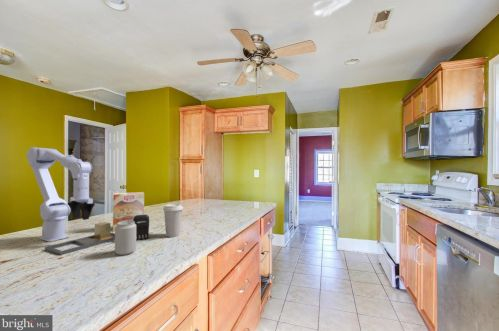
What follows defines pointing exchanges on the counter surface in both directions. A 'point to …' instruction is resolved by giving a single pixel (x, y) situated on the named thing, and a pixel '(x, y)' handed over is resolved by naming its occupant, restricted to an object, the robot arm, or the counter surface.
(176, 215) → the coffee cup
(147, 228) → the battery charger
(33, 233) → the counter surface
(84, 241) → the gray rectangular frame
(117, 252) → the can
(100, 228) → the brass block
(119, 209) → the coffeecake box
